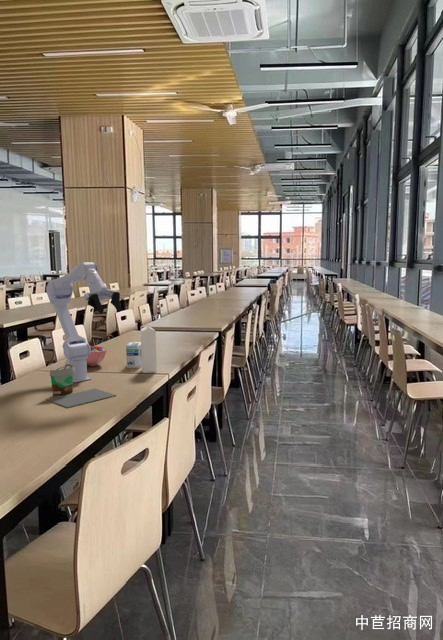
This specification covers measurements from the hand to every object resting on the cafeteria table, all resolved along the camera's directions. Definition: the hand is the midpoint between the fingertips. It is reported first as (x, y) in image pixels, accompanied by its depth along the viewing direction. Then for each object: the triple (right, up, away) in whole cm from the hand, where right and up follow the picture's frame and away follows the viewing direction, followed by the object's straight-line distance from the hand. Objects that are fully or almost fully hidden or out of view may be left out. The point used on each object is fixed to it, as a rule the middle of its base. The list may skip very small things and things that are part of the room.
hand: (111, 311), depth 184 cm
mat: (-10, -32, -4) cm, 34 cm away
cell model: (-23, -26, +50) cm, 61 cm away
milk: (+9, -27, +38) cm, 48 cm away
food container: (-18, -31, +3) cm, 36 cm away
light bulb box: (0, -25, +50) cm, 56 cm away
